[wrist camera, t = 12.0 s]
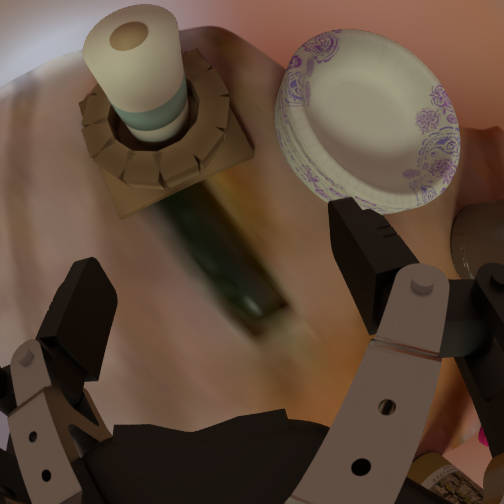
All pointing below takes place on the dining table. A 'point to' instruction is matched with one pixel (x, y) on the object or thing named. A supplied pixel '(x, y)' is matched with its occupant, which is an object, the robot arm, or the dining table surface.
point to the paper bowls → (366, 122)
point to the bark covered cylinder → (445, 479)
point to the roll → (142, 72)
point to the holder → (174, 156)
